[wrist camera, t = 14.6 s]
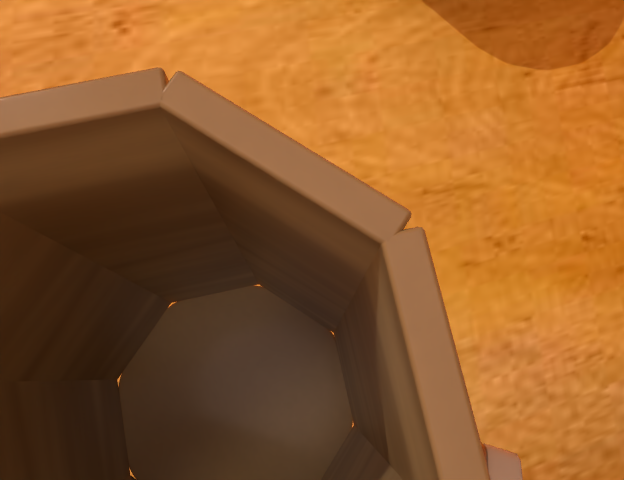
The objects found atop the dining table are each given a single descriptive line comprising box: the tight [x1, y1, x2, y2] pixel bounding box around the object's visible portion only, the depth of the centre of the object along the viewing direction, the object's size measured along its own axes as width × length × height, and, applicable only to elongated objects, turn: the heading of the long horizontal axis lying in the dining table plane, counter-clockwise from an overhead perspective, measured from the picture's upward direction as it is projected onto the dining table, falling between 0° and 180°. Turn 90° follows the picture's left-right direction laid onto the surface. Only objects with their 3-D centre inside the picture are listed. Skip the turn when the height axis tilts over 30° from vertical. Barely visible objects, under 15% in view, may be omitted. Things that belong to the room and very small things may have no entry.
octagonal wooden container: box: [0, 68, 491, 480], centre depth 10 cm, size 6×6×11 cm
